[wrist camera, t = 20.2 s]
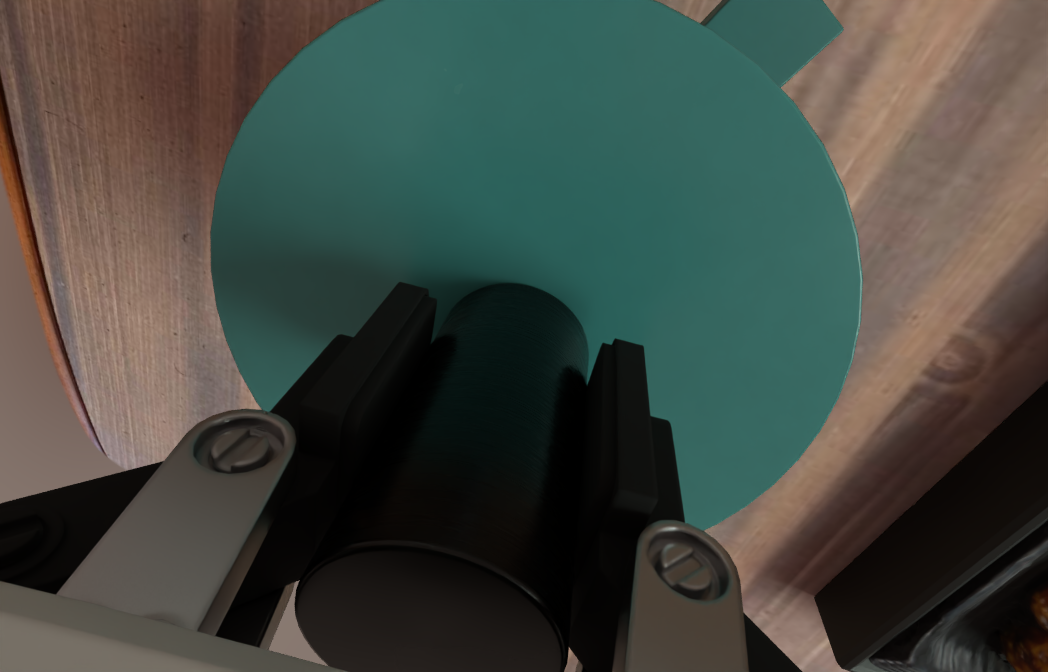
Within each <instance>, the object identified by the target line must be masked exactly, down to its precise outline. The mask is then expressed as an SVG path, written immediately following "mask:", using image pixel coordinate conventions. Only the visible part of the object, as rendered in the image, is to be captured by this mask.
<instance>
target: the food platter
mask: <svg viewBox="0 0 1048 672" xmlns="http://www.w3.org/2000/svg"><path fill="white" fill-rule="evenodd" d="M814 599H815V602H816V604H817V607H818V610H819V613H820V616H821V619H822V622H823V624H824V627H825V630H826V633H827V636H828V639H829V642H830V644H831V647H832V650H833V653H834V656H835V659H836V661H837V663H838V664H839V665H840V667H841V668H842V669H845V670H848V671H850V672H1048V382H1046V383H1045V384H1044V385H1043V386H1042V387H1041V388H1040V389H1039V390H1038V391H1037V392H1036V393H1035V394H1034V395H1032V396H1031V397H1030V398H1029V399H1028V400H1027V401H1026V402H1025V403H1024V404H1023V405H1022V406H1021V407H1019V408H1018V409H1017V410H1016V411H1015V412H1014V413H1013V414H1012V415H1011V416H1010V417H1009V418H1008V419H1006V420H1005V421H1004V422H1003V423H1002V424H1001V425H1000V426H999V427H998V428H997V429H996V430H995V431H994V432H992V433H991V434H990V435H989V436H988V437H987V438H986V439H985V440H984V441H983V442H982V443H981V444H979V445H978V446H977V447H976V448H975V449H974V450H973V451H972V452H971V453H970V454H969V455H968V456H967V457H965V458H964V459H963V460H962V461H961V462H960V463H959V464H958V465H957V466H956V467H955V468H954V469H952V470H951V471H950V472H949V473H948V474H947V475H946V476H945V477H944V478H943V479H942V480H941V481H939V482H938V483H937V484H936V485H935V486H934V487H933V488H932V489H931V490H930V491H929V492H928V493H927V494H925V495H924V496H923V497H922V498H921V499H920V500H919V501H918V502H917V503H916V504H915V505H914V506H912V507H911V508H910V509H909V510H908V511H907V512H906V513H905V514H904V515H903V516H902V517H901V518H899V519H898V520H897V521H896V522H895V523H894V524H893V525H892V526H891V527H890V528H889V529H888V530H887V531H885V532H884V533H883V534H882V535H881V536H880V537H879V538H878V539H877V540H876V541H875V542H874V543H872V544H871V545H870V546H869V547H868V548H867V549H866V550H865V551H864V552H863V553H862V554H861V555H860V556H858V557H857V558H856V559H855V560H854V561H853V562H852V563H851V564H850V565H849V566H848V567H847V568H845V569H844V570H843V571H842V572H841V573H840V574H839V575H838V576H837V577H836V578H835V579H834V580H832V581H831V582H830V583H829V584H828V585H827V586H826V587H825V588H824V589H823V590H822V591H821V592H820V593H818V594H817V595H816V596H815V597H814Z"/></svg>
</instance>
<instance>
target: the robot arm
mask: <svg viewBox="0 0 1048 672" xmlns="http://www.w3.org/2000/svg"><path fill="white" fill-rule="evenodd" d="M436 308H437V299H436V298H432V297H429V290H428V289H426V288H423V287H419V286H415V285H411V284H407V283H404V282H399V283H398V284H397V285H396V286H395V287H394V289H393V290H392V291H391V292H390V293H389V295H388V296H387V297H386V298H385V300H384V301H383V302H382V303H381V305H380V306H379V307H378V308H377V309H376V311H375V312H374V313H373V314H372V316H371V317H370V318H369V319H368V320H367V322H366V323H365V324H364V325H363V327H362V328H361V329H360V330H359V331H358V333H357V334H356V335H355V336H354V337H351V336H347V335H343V334H340V335H337V336H336V337H335V338H334V339H333V340H332V341H331V342H330V343H329V344H328V346H327V347H326V348H325V349H324V350H323V351H322V352H321V354H320V355H319V356H318V357H317V358H316V359H315V360H314V362H313V363H312V364H311V365H310V366H309V367H308V368H307V370H306V371H305V372H304V373H303V374H302V375H301V376H300V378H299V379H298V380H297V381H296V382H295V383H294V384H293V386H292V387H291V388H290V389H289V390H288V391H287V392H286V394H285V395H284V396H283V397H282V398H281V399H280V400H279V402H278V403H277V404H276V405H275V406H274V407H273V408H272V409H271V411H270V412H267V411H264V410H255V409H240V410H231V411H226V412H223V413H220V414H216V415H213V416H211V417H209V418H207V419H205V420H203V421H201V422H200V423H198V424H197V425H195V426H194V427H193V428H192V429H191V430H190V431H189V432H188V433H187V434H186V435H185V436H184V437H183V438H182V440H181V441H180V442H179V443H178V445H177V446H176V447H175V448H174V450H173V451H172V452H171V453H170V454H169V456H168V457H167V458H166V459H165V461H163V462H159V463H155V464H151V465H147V466H143V467H139V468H136V469H132V470H128V471H124V472H121V473H116V474H112V475H108V476H105V477H101V478H97V479H93V480H89V481H85V482H81V483H78V484H74V485H70V486H66V487H62V488H58V489H54V490H50V491H47V492H43V493H39V494H35V495H31V496H27V497H23V498H19V499H16V500H12V501H8V502H4V503H1V504H0V672H347V671H344V670H340V669H336V668H333V667H329V666H325V665H321V664H317V663H314V662H310V661H306V660H303V659H299V658H295V657H292V656H288V655H284V654H281V653H277V652H273V651H269V650H268V649H269V647H270V644H271V642H272V640H273V637H274V635H275V633H276V630H277V628H278V625H279V623H280V620H281V618H282V616H283V613H284V611H285V608H286V606H287V603H288V601H289V599H290V596H291V594H292V591H293V587H294V583H295V582H296V581H299V580H300V578H301V577H302V575H303V573H304V571H305V569H306V568H307V566H308V564H309V562H310V561H311V559H312V557H313V555H314V553H315V552H316V550H317V548H318V546H319V544H320V543H321V541H322V539H323V537H324V535H325V534H326V532H327V530H328V528H329V527H330V525H331V523H332V521H333V519H334V518H335V516H336V514H337V512H338V510H339V509H340V507H341V505H342V503H343V501H344V500H345V498H346V496H347V494H348V493H349V491H350V489H351V487H352V485H353V484H354V482H355V480H356V478H357V476H358V475H359V473H360V471H361V469H362V467H363V466H364V464H365V462H366V460H367V458H368V457H369V455H370V453H371V451H372V450H373V448H374V446H375V444H376V442H377V441H378V439H379V437H380V435H381V433H382V432H383V430H384V428H385V426H386V424H387V423H388V421H389V419H390V417H391V416H392V414H393V412H394V410H395V408H396V407H397V405H398V403H399V401H400V399H401V398H402V396H403V394H404V392H405V390H406V389H407V387H408V385H409V383H410V382H411V380H412V378H413V376H414V374H415V373H416V371H417V369H418V367H419V365H420V364H421V362H422V360H423V358H424V356H425V355H426V353H427V351H428V349H429V348H430V346H431V340H432V333H433V327H434V320H435V314H436ZM569 648H570V649H571V650H572V652H573V653H574V654H575V656H576V657H577V659H578V660H579V661H578V664H577V666H576V671H575V672H802V671H801V670H800V669H799V668H798V667H797V666H796V665H795V664H794V663H793V662H792V661H791V660H790V659H789V658H788V657H787V656H786V655H785V654H784V653H783V652H782V651H781V650H780V649H779V648H778V647H777V646H776V645H775V644H774V643H773V642H772V641H771V640H770V639H769V638H768V637H767V636H766V635H765V634H764V633H763V632H762V631H761V630H760V629H759V628H758V627H757V626H756V625H755V624H754V623H753V622H752V621H751V620H750V619H749V618H748V617H747V616H746V615H745V614H744V613H743V605H742V595H741V584H740V579H739V575H738V571H737V568H736V566H735V564H734V562H733V561H732V559H731V557H730V555H729V554H728V552H727V551H726V550H725V549H724V548H723V547H722V546H721V545H720V544H719V543H718V542H717V541H716V540H715V539H714V538H712V537H711V536H710V535H708V534H707V533H706V532H704V531H703V530H701V529H699V528H697V527H695V526H693V525H690V524H688V523H685V517H684V510H683V503H682V496H681V489H680V482H679V475H678V469H677V462H676V455H675V448H674V441H673V434H672V428H671V424H670V422H669V421H668V420H665V419H661V418H657V417H653V416H650V405H649V395H648V384H647V374H646V364H645V353H644V346H643V345H639V344H635V343H631V342H628V341H624V340H620V339H616V338H615V339H614V341H613V343H612V345H610V344H606V343H602V345H601V347H600V350H599V353H598V355H597V358H596V361H595V364H594V367H593V370H592V373H591V376H590V378H589V381H588V384H587V390H586V404H585V419H584V433H583V448H582V462H581V477H580V491H579V506H578V520H577V535H576V549H575V564H574V578H573V592H572V607H571V621H570V636H569Z"/></svg>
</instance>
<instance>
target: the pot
mask: <svg viewBox="0 0 1048 672" xmlns="http://www.w3.org/2000/svg"><path fill="white" fill-rule="evenodd" d="M700 24H702V25H704V26H706V27H708V28H710V29H712V30H713V31H714V32H716V33H717V34H718V35H720V36H721V37H722V38H724V39H725V40H726V41H728V42H729V43H730V44H732V45H733V46H734V47H736V48H737V49H738V50H740V51H741V52H742V53H744V54H745V55H746V56H748V57H749V58H750V59H752V60H753V61H754V62H756V63H757V64H758V65H759V66H760V67H761V68H762V69H763V70H764V71H765V73H766V74H767V75H768V76H769V77H770V78H771V79H772V80H773V81H774V82H775V83H776V84H777V85H778V86H779V87H780V88H781V87H782V86H783V85H784V84H785V83H786V82H787V81H789V80H790V79H791V78H792V77H793V76H794V75H795V74H796V73H797V72H798V71H800V70H801V69H802V68H803V67H804V66H805V65H806V64H807V63H808V62H809V61H811V60H812V59H813V58H814V57H815V56H816V55H817V54H818V53H819V52H821V51H822V50H823V49H824V48H825V47H826V46H827V45H828V44H829V43H830V42H832V41H833V40H834V39H835V38H836V37H837V36H838V35H839V34H840V33H842V31H843V27H842V25H841V24H840V23H839V21H838V20H837V19H836V17H835V16H834V15H833V13H832V12H831V11H830V10H829V8H828V7H827V6H826V4H825V3H824V2H823V0H722V1H721V2H720V3H719V4H718V5H717V6H716V7H715V9H714V10H713V11H712V12H711V13H710V14H709V15H708V16H707V17H706V18H705V19H704V20H703V21H702V22H701V23H700Z"/></svg>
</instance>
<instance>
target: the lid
mask: <svg viewBox="0 0 1048 672" xmlns="http://www.w3.org/2000/svg"><path fill="white" fill-rule="evenodd" d="M211 273H212V280H213V287H214V293H215V300H216V306H217V310H218V313H219V317H220V320H221V324H222V327H223V331H224V334H225V338H226V341H227V343H228V346H229V348H230V350H231V353H232V355H233V358H234V360H235V362H236V365H237V367H238V369H239V372H240V374H241V375H242V377H243V379H244V381H245V383H246V384H247V386H248V388H249V390H250V391H251V393H252V395H253V397H254V399H255V400H256V402H257V403H258V405H259V406H260V408H261V409H262V410H264V411H267V412H270V411H271V409H272V408H273V407H274V406H275V405H276V404H277V403H278V402H279V400H280V399H281V398H282V397H283V396H284V395H285V394H286V392H287V391H288V390H289V389H290V388H291V387H292V386H293V384H294V383H295V382H296V381H297V380H298V379H299V378H300V376H301V375H302V374H303V373H304V372H305V371H306V370H307V368H308V367H309V366H310V365H311V364H312V363H313V362H314V360H315V359H316V358H317V357H318V356H319V355H320V354H321V352H322V351H323V350H324V349H325V348H326V347H327V346H328V344H329V343H330V342H331V341H332V340H333V339H334V338H335V337H336V336H337V335H340V334H343V335H347V336H351V337H354V336H355V335H356V334H357V333H358V331H359V330H360V329H361V328H362V327H363V325H364V324H365V323H366V322H367V320H368V319H369V318H370V317H371V316H372V314H373V313H374V312H375V311H376V309H377V308H378V307H379V306H380V305H381V303H382V302H383V301H384V300H385V298H386V297H387V296H388V295H389V293H390V292H391V291H392V290H393V289H394V287H395V286H396V285H397V284H398V283H399V282H404V283H407V284H411V285H415V286H419V287H423V288H426V289H428V290H429V297H432V298H436V299H437V308H436V314H435V320H434V327H433V333H432V340H431V346H430V348H429V349H428V351H427V353H426V355H425V356H424V358H423V360H422V362H421V364H420V365H419V367H418V369H417V371H416V373H415V374H414V376H413V378H412V380H411V382H410V383H409V385H408V387H407V389H406V390H405V392H404V394H403V396H402V398H401V399H400V401H399V403H398V405H397V407H396V408H395V410H394V412H393V414H392V416H391V417H390V419H389V421H388V423H387V424H386V426H385V428H384V430H383V432H382V433H381V435H380V437H379V439H378V441H377V442H376V444H375V446H374V448H373V450H372V451H371V453H370V455H369V457H368V458H367V460H366V462H365V464H364V466H363V467H362V469H361V471H360V473H359V475H358V476H357V478H356V480H355V482H354V484H353V485H352V487H351V489H350V491H349V493H348V494H347V496H346V498H345V500H344V501H343V503H342V505H341V507H340V509H339V510H338V512H337V514H336V516H335V518H334V519H333V521H332V523H331V525H330V527H329V528H328V530H327V532H326V534H325V535H324V537H323V539H322V541H321V543H320V544H319V546H318V548H317V550H316V552H315V553H314V555H313V557H312V559H311V561H310V562H309V564H308V566H307V568H306V569H305V571H304V573H303V575H302V577H301V578H300V581H299V583H298V586H297V589H296V596H295V615H296V619H297V622H298V626H299V628H300V630H301V632H302V634H303V636H304V638H305V639H306V641H307V642H308V644H309V645H310V647H311V648H312V649H313V650H314V652H315V653H316V654H317V655H318V656H319V657H320V658H321V659H322V660H323V661H324V662H325V663H326V664H327V665H328V666H329V667H333V668H336V669H340V670H344V671H347V672H564V670H565V667H566V665H567V660H568V650H569V636H570V621H571V607H572V592H573V578H574V564H575V549H576V535H577V520H578V506H579V491H580V477H581V462H582V448H583V433H584V419H585V404H586V390H587V384H588V381H589V378H590V376H591V373H592V370H593V367H594V364H595V361H596V358H597V355H598V353H599V350H600V347H601V345H602V343H606V344H610V345H612V343H613V341H614V339H615V338H616V339H620V340H624V341H628V342H631V343H635V344H639V345H643V346H644V353H645V364H646V374H647V384H648V395H649V405H650V416H653V417H657V418H661V419H665V420H668V421H669V422H670V424H671V428H672V434H673V441H674V448H675V455H676V462H677V469H678V475H679V482H680V489H681V496H682V503H683V510H684V517H685V523H688V524H690V525H693V526H695V527H697V528H699V529H701V530H703V531H704V530H706V529H708V528H710V527H712V526H714V525H716V524H718V523H720V522H722V521H723V520H725V519H726V518H728V517H730V516H731V515H733V514H735V513H736V512H738V511H740V510H741V509H743V508H744V507H746V506H747V505H749V504H750V503H751V502H752V501H754V500H755V499H756V498H758V497H759V496H760V495H761V494H763V493H764V492H765V491H766V490H768V489H769V488H770V487H772V486H773V485H774V484H775V483H776V482H777V481H778V480H779V479H780V478H781V477H782V476H783V475H784V474H785V473H786V472H787V471H788V470H789V469H790V468H791V467H792V466H793V465H794V464H795V463H796V462H797V461H798V460H799V458H800V457H801V456H802V454H803V453H804V452H805V450H806V449H807V448H808V446H809V445H810V444H811V442H812V441H813V440H814V439H815V437H816V436H817V435H818V433H819V432H820V431H821V429H822V427H823V425H824V423H825V422H826V420H827V418H828V416H829V414H830V413H831V411H832V409H833V407H834V405H835V404H836V402H837V400H838V398H839V396H840V393H841V390H842V388H843V385H844V382H845V380H846V377H847V375H848V372H849V369H850V367H851V364H852V361H853V356H854V352H855V347H856V342H857V337H858V332H859V328H860V323H861V308H862V286H863V275H862V266H861V258H860V249H859V241H858V233H857V230H856V226H855V223H854V219H853V216H852V212H851V209H850V205H849V202H848V199H847V195H846V192H845V188H844V186H843V184H842V182H841V180H840V178H839V176H838V174H837V172H836V170H835V167H834V165H833V163H832V161H831V159H830V157H829V155H828V153H827V151H826V149H825V146H824V144H823V143H822V142H821V140H820V139H819V137H818V136H817V134H816V133H815V131H814V130H813V129H812V127H811V126H810V124H809V123H808V121H807V120H806V119H805V117H804V116H803V114H802V113H801V111H800V110H799V108H798V107H797V106H796V104H795V103H794V101H793V100H792V99H791V98H790V97H789V96H788V95H787V94H786V93H785V92H784V91H783V90H782V89H781V88H780V87H779V86H778V85H777V84H776V83H775V82H774V81H773V80H772V79H771V78H770V77H769V76H768V75H767V74H766V73H765V71H764V70H763V69H762V68H761V67H760V66H759V65H758V64H757V63H756V62H754V61H753V60H752V59H750V58H749V57H748V56H746V55H745V54H744V53H742V52H741V51H740V50H738V49H737V48H736V47H734V46H733V45H732V44H730V43H729V42H728V41H726V40H725V39H724V38H722V37H721V36H720V35H718V34H717V33H716V32H714V31H713V30H712V29H710V28H708V27H706V26H704V25H702V24H700V23H698V22H696V21H694V20H693V19H691V18H689V17H687V16H685V15H683V14H681V13H679V12H677V11H676V10H674V9H672V8H670V7H668V6H666V5H664V4H662V3H660V2H657V1H654V0H379V1H377V2H375V3H373V4H371V5H369V6H367V7H365V8H364V9H362V10H360V11H358V12H356V13H354V14H352V15H350V16H348V17H346V18H344V19H342V20H340V21H339V22H338V23H336V24H335V25H333V26H332V27H331V28H329V29H328V30H327V31H325V32H324V33H322V34H321V35H320V36H318V37H317V38H316V39H314V40H313V41H312V42H310V43H309V44H307V45H306V46H305V47H303V48H302V49H301V50H300V51H299V52H298V53H297V54H296V55H295V56H294V57H293V58H292V59H291V60H290V61H289V62H288V63H287V65H286V66H285V67H284V68H283V69H282V70H281V71H280V72H279V73H278V74H277V75H276V76H275V77H274V78H273V79H272V80H271V81H270V82H269V84H268V85H267V87H266V88H265V90H264V91H263V92H262V94H261V95H260V97H259V98H258V100H257V101H256V102H255V104H254V105H253V107H252V108H251V110H250V111H249V113H248V114H247V115H246V117H245V119H244V121H243V123H242V125H241V127H240V129H239V132H238V134H237V136H236V138H235V140H234V142H233V144H232V146H231V148H230V150H229V153H228V155H227V157H226V161H225V164H224V168H223V171H222V174H221V178H220V181H219V185H218V188H217V191H216V196H215V203H214V210H213V218H212V225H211Z"/></svg>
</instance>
